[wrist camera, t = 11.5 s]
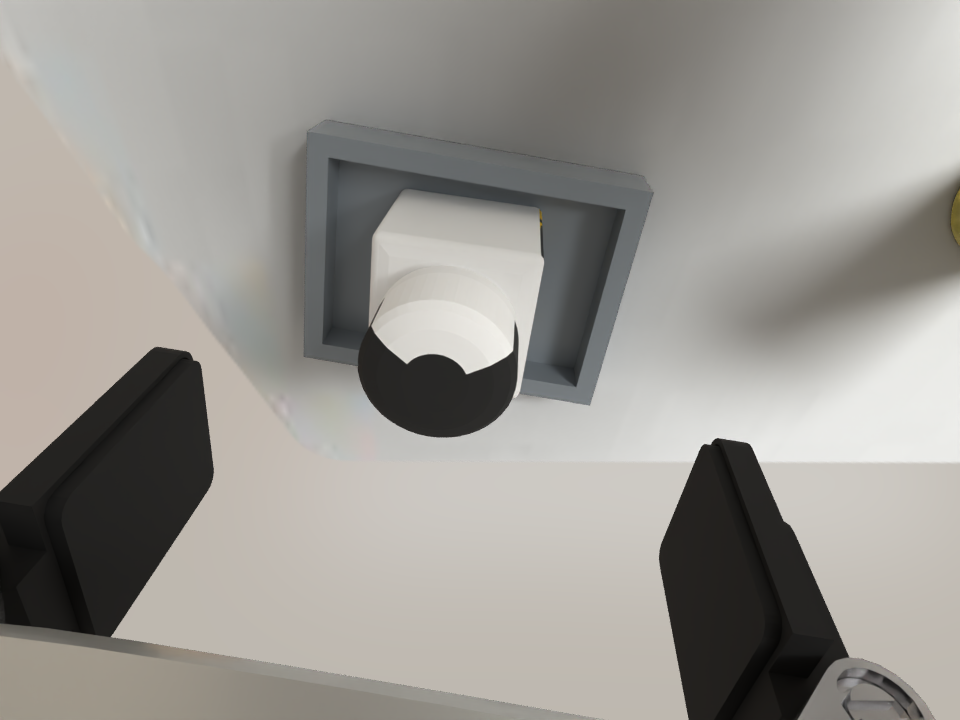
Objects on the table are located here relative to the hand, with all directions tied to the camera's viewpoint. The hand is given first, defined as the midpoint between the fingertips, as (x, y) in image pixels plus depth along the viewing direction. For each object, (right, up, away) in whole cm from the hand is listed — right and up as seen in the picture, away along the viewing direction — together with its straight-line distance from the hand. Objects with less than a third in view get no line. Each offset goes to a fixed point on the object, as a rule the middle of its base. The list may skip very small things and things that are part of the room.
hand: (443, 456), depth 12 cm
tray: (0, +7, +23) cm, 24 cm away
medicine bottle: (0, +7, +22) cm, 23 cm away
